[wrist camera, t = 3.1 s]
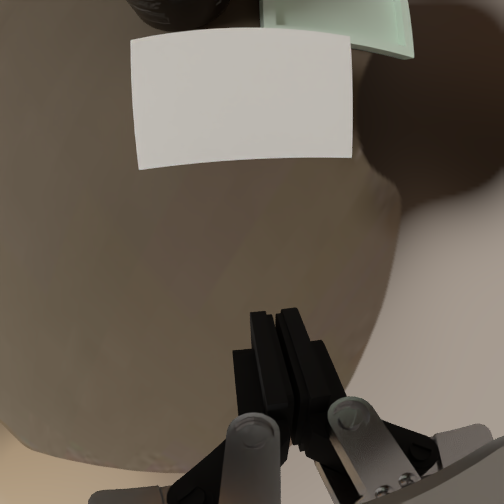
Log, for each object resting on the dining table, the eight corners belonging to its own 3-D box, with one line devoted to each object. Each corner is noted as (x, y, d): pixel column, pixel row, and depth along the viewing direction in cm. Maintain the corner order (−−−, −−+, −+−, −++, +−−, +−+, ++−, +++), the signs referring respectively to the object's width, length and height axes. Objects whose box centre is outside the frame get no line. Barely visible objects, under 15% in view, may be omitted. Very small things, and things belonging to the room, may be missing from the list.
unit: (169, 71, 16) (130, 35, 7) (287, 66, 17) (349, 32, 8) (174, 147, 19) (140, 177, 10) (289, 140, 20) (351, 165, 11)
